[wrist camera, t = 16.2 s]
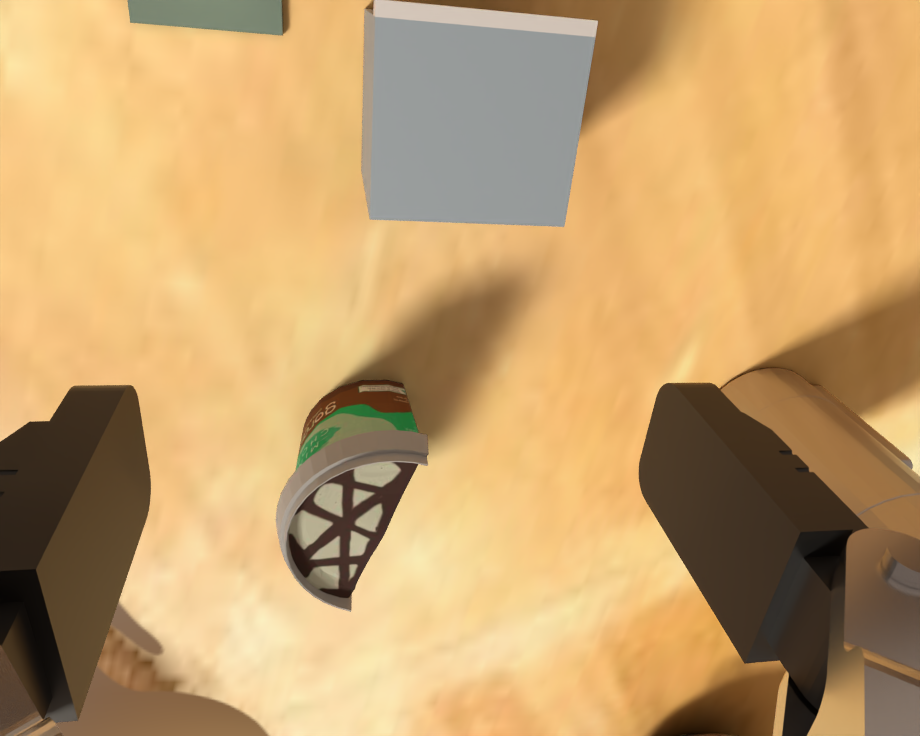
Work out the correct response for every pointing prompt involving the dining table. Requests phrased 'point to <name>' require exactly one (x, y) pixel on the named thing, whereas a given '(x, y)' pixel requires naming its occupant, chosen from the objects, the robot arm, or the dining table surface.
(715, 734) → the cooking pot
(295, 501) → the food container
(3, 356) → the dining table surface
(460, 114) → the dispenser sleeve
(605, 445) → the dining table surface
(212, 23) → the rubber mat
